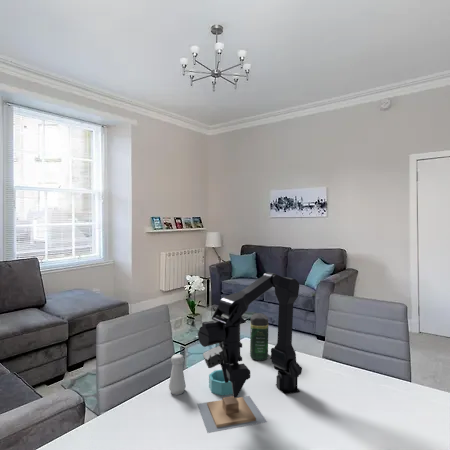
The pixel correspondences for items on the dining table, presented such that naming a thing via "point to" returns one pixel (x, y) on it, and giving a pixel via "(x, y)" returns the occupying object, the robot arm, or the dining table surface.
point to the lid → (230, 411)
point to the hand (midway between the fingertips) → (230, 389)
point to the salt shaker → (177, 375)
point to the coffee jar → (259, 336)
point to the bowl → (219, 384)
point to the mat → (212, 427)
